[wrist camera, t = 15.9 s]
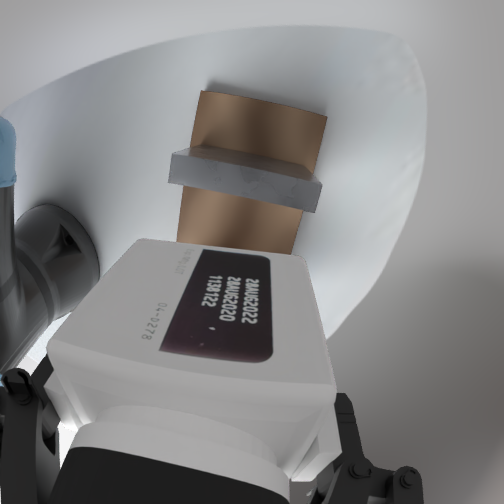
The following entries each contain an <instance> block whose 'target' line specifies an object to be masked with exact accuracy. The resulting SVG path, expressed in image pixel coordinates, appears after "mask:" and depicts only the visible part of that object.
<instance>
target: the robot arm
mask: <svg viewBox="0 0 504 504" xmlns="http://www.w3.org/2000/svg"><path fill="white" fill-rule="evenodd" d="M15 152H16V133H15V130H14V128H13V126H12V124H11V123H10V122H9V121H8V120H6V119H4V118H3V117H0V488H1V504H47V502H48V499H49V497H50V494H51V491H52V489H53V486H54V484H55V481H56V479H57V476H58V474H59V472H60V459H59V431H58V428H57V426H58V424H59V422H60V420H61V422H62V424H63V426H64V427H65V428H67V429H69V430H71V431H74V432H76V433H77V431H78V430H79V428H80V427H81V426H83V423H82V421H81V420H80V418H79V416H78V415H77V413H76V411H75V409H74V408H73V406H72V404H71V402H70V400H69V398H68V397H67V395H66V393H65V391H64V389H63V387H62V385H61V383H60V381H59V379H58V377H57V375H56V373H55V370H54V368H53V366H52V364H51V362H50V359H49V357H48V354H46V356H45V357H44V358H43V359H42V361H41V362H40V364H39V365H38V366H37V368H36V369H35V371H34V372H33V374H32V375H31V376H30V375H29V373H28V372H27V371H25V370H24V369H21V368H16V367H17V366H18V364H19V363H20V362H21V361H22V359H23V358H24V356H25V355H26V354H27V353H28V351H29V350H30V349H31V348H32V346H33V345H34V344H35V342H36V341H37V340H38V339H39V337H40V336H41V335H42V334H43V333H44V331H45V330H46V329H47V327H48V326H49V325H50V324H51V323H52V322H53V321H55V320H57V319H59V318H61V317H63V316H65V315H66V314H68V313H69V312H73V310H74V309H75V308H76V307H77V306H78V304H79V303H80V302H81V301H82V300H83V299H84V297H85V296H86V295H87V294H88V293H89V292H90V291H91V289H92V288H93V287H94V286H95V285H96V284H97V283H98V281H99V264H98V258H97V255H96V251H95V249H94V246H93V244H92V242H91V240H90V238H89V236H88V234H87V233H86V231H85V230H84V228H83V227H82V225H81V224H80V223H79V222H78V221H77V220H76V219H75V218H74V217H73V216H72V215H71V214H69V213H68V212H67V211H65V210H63V209H62V208H59V207H57V206H54V205H40V206H37V207H35V208H33V209H31V210H29V211H27V212H25V213H24V214H23V215H22V216H21V217H20V218H19V219H18V220H17V222H16V223H15V225H14V183H15V182H16V179H17V175H16V171H15ZM3 386H4V387H3ZM316 476H317V485H316V486H315V487H313V488H312V489H311V490H310V491H309V492H308V493H307V494H306V495H308V496H309V495H310V494H311V495H310V498H309V500H308V502H307V504H424V500H423V488H422V479H421V476H420V474H419V472H418V471H417V470H416V469H414V468H413V467H409V466H404V467H401V468H399V469H398V470H396V471H391V470H385V469H380V468H377V467H374V466H373V464H372V463H371V462H370V461H369V460H368V459H366V458H365V457H364V454H363V451H362V446H361V441H360V436H359V432H358V427H357V424H356V418H355V416H354V410H353V406H352V402H351V401H350V399H349V398H348V397H347V395H346V394H345V393H336V400H335V402H334V404H333V406H332V408H331V410H330V412H329V414H328V416H327V418H326V419H325V421H324V423H323V425H322V427H321V428H320V430H319V432H318V434H317V436H316V437H315V439H314V441H313V442H312V444H311V446H310V448H309V449H308V451H307V453H306V454H305V456H304V457H303V459H302V461H301V462H300V464H299V465H298V467H297V469H296V470H295V472H294V473H293V475H292V481H312V480H313V479H314V478H315V477H316Z"/></svg>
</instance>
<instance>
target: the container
mask: <svg viewBox="0 0 504 504" xmlns="http://www.w3.org/2000/svg"><path fill="white" fill-rule="evenodd" d="M46 349H47V354H48V357H49V359H50V362H51V364H52V366H53V368H54V370H55V373H56V375H57V377H58V379H59V381H60V383H61V385H62V387H63V389H64V391H65V393H66V395H67V397H68V398H69V400H70V402H71V404H72V406H73V408H74V409H75V411H76V413H77V415H78V416H79V418H80V420H81V421H82V423H83V426H81V427H80V428H79V430H78V431H77V433H76V435H75V437H74V440H73V442H72V444H71V446H70V449H69V451H68V453H67V455H66V458H65V460H64V462H63V465H62V467H61V469H60V472H59V474H58V476H57V479H56V481H55V484H54V486H53V489H52V491H51V494H50V497H49V499H48V502H47V504H289V479H290V478H291V476H292V475H293V473H294V472H295V470H296V469H297V467H298V465H299V464H300V462H301V461H302V459H303V457H304V456H305V454H306V453H307V451H308V449H309V448H310V446H311V444H312V442H313V441H314V439H315V437H316V436H317V434H318V432H319V430H320V428H321V427H322V425H323V423H324V421H325V419H326V418H327V416H328V414H329V412H330V410H331V408H332V406H333V404H334V402H335V400H336V392H337V388H336V384H335V379H334V375H333V370H332V365H331V361H330V356H329V352H328V348H327V343H326V339H325V335H324V331H323V326H322V322H321V318H320V314H319V310H318V306H317V302H316V298H315V294H314V291H313V287H312V283H311V279H310V275H309V272H308V268H307V264H306V261H305V260H304V259H303V258H302V257H300V256H296V255H287V254H278V253H269V252H260V251H251V250H242V249H233V248H224V247H215V246H206V245H197V244H188V243H179V242H170V241H161V240H152V239H139V240H137V241H136V242H135V243H134V244H133V245H132V246H131V247H130V248H129V249H128V250H127V251H126V252H125V253H124V254H123V255H122V257H121V258H120V259H119V260H118V261H117V262H116V263H115V264H114V265H113V266H112V267H111V268H110V269H109V270H108V272H107V273H106V274H105V275H104V276H103V277H102V278H101V279H100V280H99V282H98V283H97V284H96V285H95V286H94V287H93V288H92V289H91V291H90V292H89V293H88V294H87V295H86V296H85V297H84V299H83V300H82V301H81V302H80V303H79V304H78V306H77V307H76V308H75V309H74V310H73V312H72V313H71V314H70V315H69V316H68V318H67V319H66V320H65V321H64V322H63V324H62V325H61V326H60V327H59V329H58V330H57V331H56V332H55V334H54V335H53V336H52V338H51V339H50V340H49V341H48V344H47V347H46Z"/></svg>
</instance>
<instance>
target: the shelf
mask: <svg viewBox="0 0 504 504" xmlns="http://www.w3.org/2000/svg"><path fill="white" fill-rule="evenodd" d="M326 120H327V117H326V116H323V115H319V114H316V113H312V112H309V111H305V110H301V109H297V108H293V107H289V106H285V105H280V104H276V103H272V102H267V101H262V100H257V99H252V98H247V97H241V96H236V95H230V94H223V93H217V92H210V91H202V90H201V92H200V97H199V102H198V107H197V112H196V117H195V122H194V127H193V132H192V138H191V143H190V147H193V146H196V145H199V144H203V145H209V146H215V147H220V148H226V149H231V150H236V151H241V152H246V153H251V154H256V155H260V156H265V157H270V158H274V159H278V160H283V161H287V162H291V163H295V164H299V165H303V166H305V167H306V168H307V169H308V170H309V171H310V172H311V173H312V174H313V172H314V168H315V164H316V161H317V157H318V153H319V149H320V145H321V141H322V137H323V133H324V129H325V125H326ZM302 213H303V210H299V209H295V208H291V207H286V206H282V205H278V204H273V203H269V202H264V201H259V200H255V199H250V198H245V197H241V196H236V195H231V194H226V193H221V192H216V191H211V190H205V189H200V188H195V187H189V186H184V187H183V194H182V201H181V208H180V216H179V224H178V232H177V241H176V242H179V243H188V244H197V245H206V246H215V247H224V248H233V249H242V250H251V251H260V252H269V253H278V254H287V255H291V252H292V248H293V245H294V241H295V238H296V234H297V231H298V227H299V224H300V220H301V217H302Z"/></svg>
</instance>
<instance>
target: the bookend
mask: <svg viewBox="0 0 504 504" xmlns="http://www.w3.org/2000/svg"><path fill="white" fill-rule="evenodd" d="M168 183H173V184H178V185H184V186H189V187H195V188H200V189H205V190H211V191H216V192H221V193H226V194H231V195H236V196H241V197H245V198H250V199H255V200H259V201H264V202H269V203H273V204H278V205H282V206H286V207H291V208H295V209H299V210H304V211H308V212H312V213H315V210H316V206H317V203H318V199H319V196H320V192H321V189H322V184H321V183H320V182H319V180H318V179H317V178H316V177H315V176H314V175H313V174H312V173H311V172H310V171H309V170H308V169H307V168H306V167H305V166H303V165H299V164H295V163H291V162H287V161H283V160H278V159H274V158H270V157H265V156H260V155H256V154H251V153H246V152H241V151H236V150H231V149H226V148H220V147H215V146H209V145H203V144H199V145H196V146H193V147H190V148H187V149H184V150H181V151H178V152H176V153H173V154H172V158H171V165H170V172H169V179H168Z"/></svg>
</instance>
